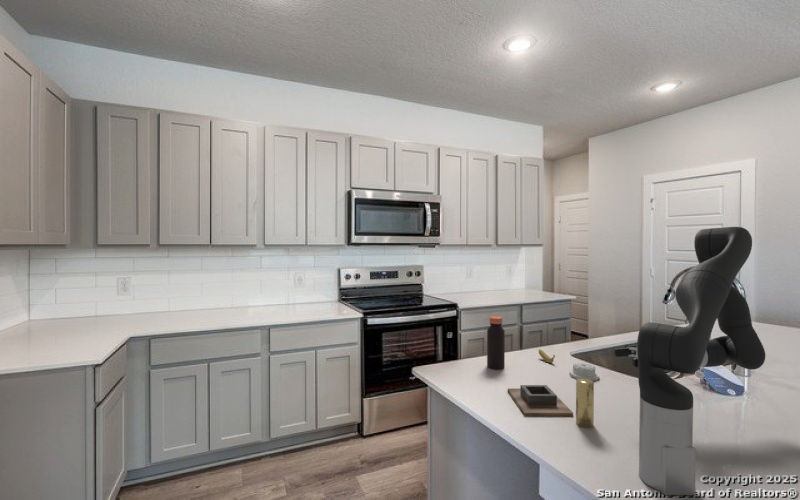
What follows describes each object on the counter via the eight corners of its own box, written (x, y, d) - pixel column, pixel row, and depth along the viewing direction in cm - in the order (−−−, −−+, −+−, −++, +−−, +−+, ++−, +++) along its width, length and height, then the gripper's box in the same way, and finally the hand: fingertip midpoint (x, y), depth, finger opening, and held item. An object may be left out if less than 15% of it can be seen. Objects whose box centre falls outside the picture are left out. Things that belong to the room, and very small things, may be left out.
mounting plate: (573, 416, 111) (573, 402, 111) (524, 416, 111) (524, 402, 111) (549, 391, 129) (549, 379, 129) (507, 391, 129) (507, 379, 129)
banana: (536, 358, 165) (536, 348, 165) (541, 357, 166) (541, 348, 166) (551, 365, 156) (551, 355, 156) (556, 364, 156) (556, 355, 156)
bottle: (486, 368, 152) (486, 318, 151) (487, 363, 158) (487, 315, 158) (504, 370, 150) (504, 319, 149) (504, 365, 156) (504, 316, 156)
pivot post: (596, 428, 104) (597, 384, 103) (580, 428, 104) (580, 384, 103) (588, 420, 108) (589, 378, 108) (573, 420, 108) (573, 378, 108)
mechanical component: (572, 380, 139) (602, 382, 137) (573, 368, 139) (602, 370, 137) (566, 371, 149) (594, 373, 147) (566, 360, 149) (594, 362, 147)
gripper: (663, 334, 113) (608, 337, 113) (702, 349, 99) (640, 352, 98) (663, 359, 113) (609, 362, 113) (702, 377, 99) (640, 380, 99)
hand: (623, 357), depth 106 cm, fingers open, 8 cm apart
